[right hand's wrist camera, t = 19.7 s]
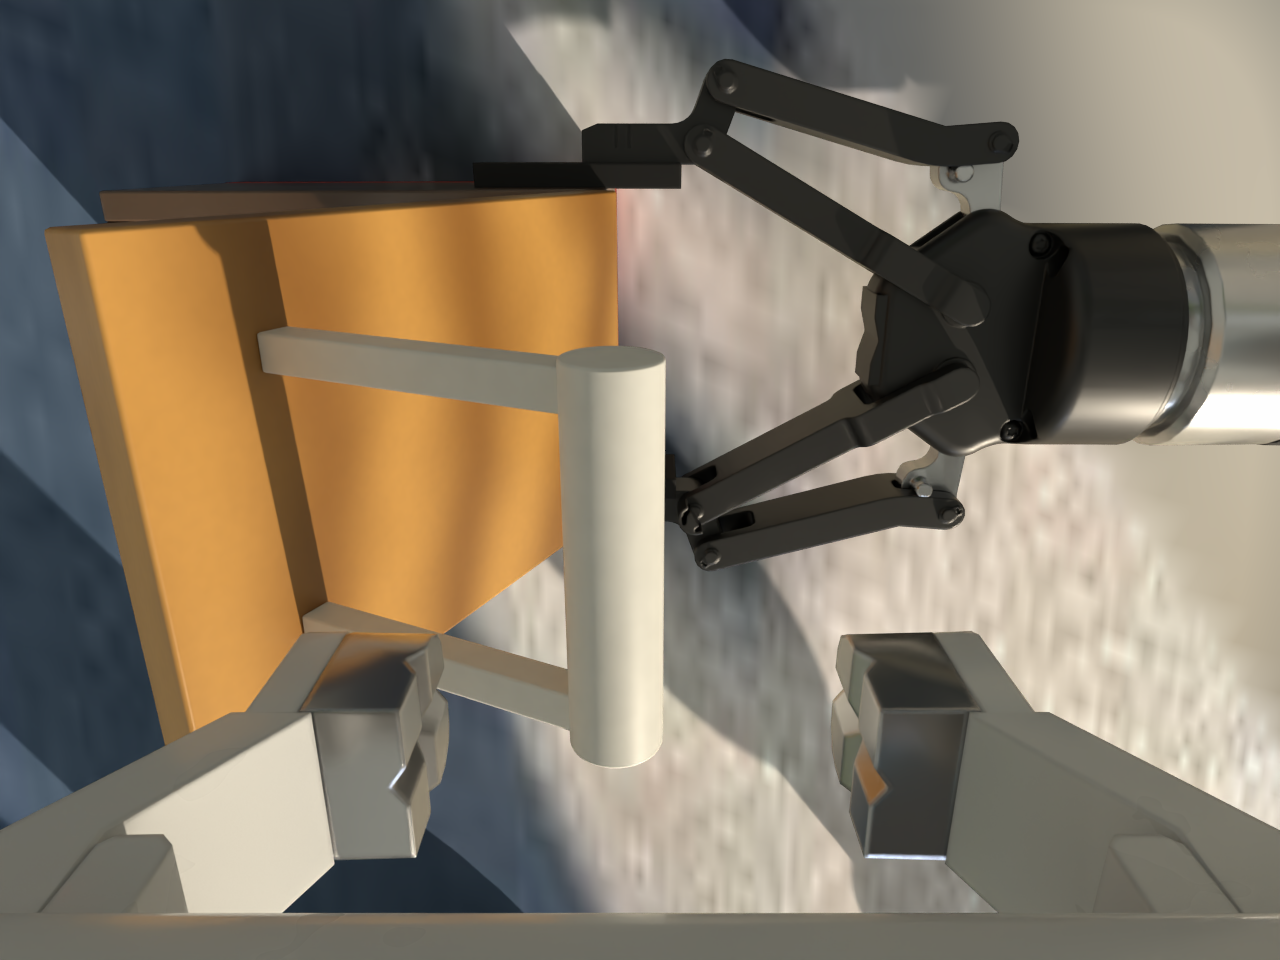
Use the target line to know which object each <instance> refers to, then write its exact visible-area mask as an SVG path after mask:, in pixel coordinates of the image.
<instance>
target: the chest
mask: <svg viewBox="0 0 1280 960" xmlns="http://www.w3.org/2000/svg"><path fill="white" fill-rule="evenodd" d="M584 190H613V191H615V192H616V189H615V188H474V181H408V182H229V183H219V184H203V185H187V186H171V187H155V188H139V189H123V190H107V191H101V192H100V193H99V195H100V200H101V204H102V209H103V214H104V219H105V221H108V222H107V223H118V222H132V221H147V220H161V219H176V218H191V217H205V216H220V215H234V214H249V213H264V212H278V211H293V210H307V209H322V208H337V207H351V206H366V205H380V204H395V203H409V202H424V201H439V200H453V199H468V198H482V197H497V196H512V195H526V194H541V193H555V192H570V191H584ZM616 217H617V193H616ZM617 300H618V277H617Z"/></svg>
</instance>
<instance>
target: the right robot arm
mask: <svg viewBox="0 0 1280 960" xmlns="http://www.w3.org/2000/svg"><path fill="white" fill-rule="evenodd" d="M443 670H444V660H443V652H442V644H441V641H440V639H439V637H438V635H437V634H423V633H371V632H352V633H349V632H348V631H340V632H308V633H304V634H301V635H300V636H299V638H298V639H297V640H296V642H295V643H294V645H293V646H292V647H291V649H290V650H289V651H288V653H287V654H286V656H285V657H284V658H283V660H282V661H281V663H280V664H279V665H278V667H277V668H276V670H275V671H274V672H273V674H272V675H271V677H270V678H269V679H268V681H267V682H266V683H265V685H264V686H263V688H262V689H261V690H260V692H259V693H258V695H257V696H256V697H255V699H254V700H253V702H252V703H251V704H250V706H249V707H248V708H247V710H246V711H245V712H230V713H229V714H227V715H225V716H223V717H221V718H219V719H217V720H215V721H213V722H211V723H209V724H207V725H205V726H203V727H201V728H199V729H197V730H195V731H193V732H191V733H189V734H187V735H185V736H183V737H181V738H180V739H178V740H176V741H174V742H172V743H170V744H168V745H166V746H164V747H162V748H160V749H158V750H156V751H154V752H152V753H150V754H148V755H146V756H144V757H142V758H140V759H138V760H136V761H134V762H133V763H131V764H129V765H127V766H125V767H123V768H121V769H119V770H117V771H115V772H113V773H111V774H109V775H107V776H105V777H103V778H101V779H99V780H97V781H95V782H93V783H91V784H89V785H87V786H86V787H84V788H82V789H80V790H78V791H76V792H74V793H72V794H70V795H68V796H66V797H64V798H62V799H60V800H58V801H56V802H54V803H52V804H50V805H48V806H46V807H44V808H42V809H40V810H39V811H37V812H35V813H33V814H31V815H29V816H27V817H25V818H23V819H21V820H19V821H17V822H15V823H13V824H11V825H9V826H7V827H5V828H3V829H1V830H0V960H1280V830H1278V829H1276V828H1274V827H1272V826H1270V825H1268V824H1266V823H1264V822H1262V821H1260V820H1258V819H1256V818H1255V817H1253V816H1251V815H1249V814H1247V813H1245V812H1243V811H1241V810H1239V809H1237V808H1235V807H1233V806H1231V805H1229V804H1227V803H1225V802H1223V801H1221V800H1219V799H1217V798H1215V797H1214V796H1212V795H1210V794H1208V793H1206V792H1204V791H1202V790H1200V789H1198V788H1196V787H1194V786H1192V785H1190V784H1188V783H1186V782H1184V781H1182V780H1180V779H1178V778H1176V777H1174V776H1173V775H1171V774H1169V773H1167V772H1165V771H1163V770H1161V769H1159V768H1157V767H1155V766H1153V765H1151V764H1149V763H1147V762H1145V761H1143V760H1141V759H1139V758H1137V757H1135V756H1133V755H1132V754H1130V753H1128V752H1126V751H1124V750H1122V749H1120V748H1118V747H1116V746H1114V745H1112V744H1110V743H1108V742H1106V741H1104V740H1102V739H1100V738H1098V737H1096V736H1094V735H1092V734H1091V733H1089V732H1087V731H1085V730H1083V729H1081V728H1079V727H1077V726H1075V725H1073V724H1071V723H1069V722H1067V721H1065V720H1063V719H1061V718H1059V717H1057V716H1055V715H1053V714H1051V713H1050V712H1035V711H1034V710H1033V709H1032V707H1031V706H1030V704H1029V703H1028V702H1027V700H1026V699H1025V698H1024V696H1023V695H1022V693H1021V692H1020V691H1019V689H1018V688H1017V687H1016V685H1015V684H1014V682H1013V681H1012V680H1011V678H1010V677H1009V676H1008V674H1007V673H1006V671H1005V670H1004V669H1003V667H1002V666H1001V664H1000V663H999V662H998V660H997V659H996V658H995V656H994V655H993V653H992V652H991V651H990V649H989V648H988V647H987V645H986V644H985V642H984V641H983V640H982V638H981V637H980V636H979V635H978V634H976V633H974V632H972V631H961V632H937V633H932V632H928V633H887V634H847V635H842V636H841V637H840V641H839V645H838V649H837V659H836V670H837V673H838V676H839V678H840V681H841V684H842V686H843V690H842V691H841V692H840V693H839V694H838V695H837V696H836V698H835V699H834V700H833V701H832V717H831V739H832V753H833V758H834V763H835V768H836V772H837V775H838V778H839V782H840V784H841V785H843V786H844V787H845V788H847V789H848V790H849V791H851V798H850V809H849V813H850V816H851V819H852V822H853V825H854V828H855V831H856V834H857V837H858V840H859V843H860V846H861V849H862V852H863V855H864V858H892V859H928V860H946V861H945V864H946V865H947V866H948V867H949V868H950V869H951V870H953V871H954V872H955V873H956V874H957V875H958V876H959V877H960V878H961V879H962V880H963V881H964V882H966V883H967V884H968V885H969V886H970V887H971V888H972V889H973V890H974V891H975V892H976V893H977V894H979V895H980V896H981V897H982V898H983V899H984V900H985V901H986V902H987V903H988V904H989V905H990V906H992V907H993V908H994V909H995V910H996V911H997V912H998V913H282V912H283V911H285V910H286V909H287V908H288V907H289V906H290V905H291V904H292V903H293V902H294V901H295V900H296V899H298V898H299V897H300V896H301V895H302V894H303V893H304V892H305V891H306V890H307V889H308V888H309V887H311V886H312V885H313V884H314V883H315V882H316V881H317V880H318V879H319V878H320V877H321V876H322V875H324V874H325V873H326V872H327V871H328V870H329V869H330V868H331V867H332V866H333V865H334V860H351V859H386V858H416V856H417V853H418V850H419V847H420V844H421V841H422V837H423V834H424V831H425V828H426V825H427V822H428V819H429V816H430V813H431V809H430V798H429V791H431V790H432V789H433V788H435V787H436V786H437V785H439V784H440V782H441V778H442V775H443V771H444V768H445V764H446V757H447V750H448V742H449V714H448V701H447V700H446V699H445V698H444V696H443V695H442V694H441V693H440V692H439V691H438V690H437V686H438V684H439V681H440V678H441V675H442V673H443Z"/></svg>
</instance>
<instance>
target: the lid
mask: <svg viewBox="0 0 1280 960" xmlns="http://www.w3.org/2000/svg"><path fill="white" fill-rule="evenodd" d="M44 234H45V238H46V243H47V247H48V251H49V255H50V260H51V264H52V268H53V272H54V277H55V281H56V285H57V289H58V294H59V298H60V302H61V306H62V310H63V315H64V319H65V323H66V327H67V332H68V336H69V340H70V344H71V349H72V353H73V357H74V361H75V366H76V370H77V374H78V378H79V383H80V387H81V391H82V395H83V399H84V404H85V408H86V412H87V416H88V421H89V425H90V429H91V433H92V438H93V442H94V446H95V450H96V455H97V459H98V463H99V467H100V472H101V476H102V480H103V484H104V488H105V493H106V497H107V501H108V505H109V510H110V514H111V518H112V522H113V527H114V531H115V535H116V539H117V544H118V548H119V552H120V556H121V561H122V565H123V569H124V573H125V577H126V582H127V586H128V590H129V594H130V599H131V603H132V607H133V611H134V616H135V620H136V624H137V628H138V633H139V637H140V641H141V645H142V650H143V654H144V658H145V662H146V666H147V671H148V675H149V679H150V683H151V688H152V692H153V696H154V700H155V705H156V709H157V713H158V717H159V722H160V726H161V730H162V734H163V739H164V743H165V746H166V745H168V744H170V743H172V742H174V741H176V740H178V739H180V738H181V737H183V736H185V735H187V734H189V733H191V732H193V731H195V730H197V729H199V728H201V727H203V726H205V725H207V724H209V723H211V722H213V721H215V720H217V719H219V718H221V717H223V716H225V715H227V714H229V713H230V712H245V711H246V710H247V708H248V707H249V706H250V704H251V703H252V702H253V700H254V699H255V697H256V696H257V695H258V693H259V692H260V690H261V689H262V688H263V686H264V685H265V683H266V682H267V681H268V679H269V678H270V677H271V675H272V674H273V672H274V671H275V670H276V668H277V667H278V665H279V664H280V663H281V661H282V660H283V658H284V657H285V656H286V654H287V653H288V651H289V650H290V649H291V647H292V646H293V645H294V643H295V642H296V640H297V639H298V638H299V636H300V635H301V634H304V633H308V632H340V631H348V632H349V633H352V632H371V633H423V634H437V635H438V637H439V639H440V641H441V644H442V652H443V660H444V670H443V673H442V675H441V678H440V681H439V684H438V686H437V689H441V690H444V691H447V692H450V693H453V694H456V695H459V696H463V697H466V698H469V699H472V700H475V701H478V702H481V703H485V704H488V705H491V706H494V707H497V708H500V709H503V710H507V711H510V712H513V713H516V714H519V715H522V716H525V717H529V718H532V719H535V720H538V721H541V722H544V723H547V724H551V725H554V726H557V727H560V728H563V729H566V730H569V731H570V742H571V745H572V747H573V749H574V751H575V752H576V754H577V755H578V756H579V757H580V758H582V759H583V760H584V761H586V762H588V763H590V764H593V765H596V766H599V767H605V768H626V767H631V766H635V765H638V764H640V763H643V762H645V761H647V760H648V759H650V758H651V757H652V756H653V755H655V753H656V752H657V751H658V749H659V748H660V746H661V743H662V739H663V627H664V493H665V357H664V356H663V355H662V354H661V353H659V352H656V351H653V350H650V349H646V348H640V347H630V346H618V300H617V217H616V192H615V191H613V190H584V191H570V192H555V193H541V194H526V195H512V196H497V197H482V198H468V199H453V200H439V201H424V202H409V203H395V204H380V205H366V206H351V207H337V208H322V209H307V210H293V211H278V212H264V213H249V214H234V215H220V216H205V217H191V218H176V219H161V220H147V221H132V222H118V223H103V224H89V225H74V226H59V227H49V228H48V229H46V230H45V233H44ZM562 547H563V560H564V586H565V613H566V639H567V666H568V669H564V668H561V667H557V666H554V665H550V664H547V663H543V662H540V661H536V660H533V659H529V658H526V657H522V656H519V655H515V654H512V653H508V652H505V651H501V650H497V649H494V648H490V647H487V646H483V645H480V644H476V643H473V642H469V641H466V640H462V639H459V638H455V637H452V636H448V635H445V634H444V633H445V632H447V631H448V630H449V629H451V628H452V627H454V626H455V625H456V624H458V623H459V622H460V621H462V620H463V619H465V618H466V617H467V616H469V615H470V614H471V613H473V612H474V611H475V610H477V609H478V608H480V607H481V606H482V605H484V604H485V603H486V602H488V601H489V600H490V599H492V598H493V597H495V596H496V595H497V594H499V593H500V592H501V591H503V590H504V589H506V588H507V587H508V586H510V585H511V584H512V583H514V582H515V581H516V580H518V579H519V578H521V577H522V576H523V575H525V574H526V573H527V572H529V571H530V570H532V569H533V568H534V567H536V566H537V565H538V564H540V563H541V562H542V561H544V560H545V559H547V558H548V557H549V556H551V555H552V554H553V553H555V552H556V551H558V550H559V549H560V548H562Z"/></svg>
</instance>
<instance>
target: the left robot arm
mask: <svg viewBox="0 0 1280 960" xmlns="http://www.w3.org/2000/svg"><path fill="white" fill-rule="evenodd" d="M735 112H737V113H740V114H743V115H747V116H750V117H753V118H757V119H760V120H763V121H766V122H770V123H773V124H776V125H779V126H783V127H786V128H789V129H792V130H796V131H799V132H802V133H805V134H809V135H812V136H815V137H818V138H822V139H825V140H828V141H831V142H835V143H838V144H841V145H844V146H848V147H851V148H854V149H857V150H861V151H864V152H867V153H870V154H874V155H877V156H880V157H883V158H887V159H890V160H893V161H897V162H901V163H905V164H910V165H919V166H930V179H931V181H932V184H933V185H934V186H935V187H936V188H938V189H939V190H943V191H948V192H951V193H953V194H954V195H955V196H956V197H957V198H958V199H959V202H960V206H961V211H960V212H958V213H956V214H955V215H953V216H952V217H950V218H949V219H948V220H946V221H945V222H943V223H942V224H940V225H939V226H937V227H936V228H934V229H933V230H932V231H930V232H929V233H927V234H926V235H924V236H923V237H921V238H920V239H918V240H917V241H916V242H914V243H913V244H911V245H910V246H908V245H907V244H905V243H903V242H902V241H900V240H899V239H897V238H895V237H894V236H892V235H890V234H888V233H887V232H885V231H883V230H881V229H879V228H877V227H876V226H874V225H872V224H871V223H869V222H868V221H866V220H864V219H863V218H861V217H859V216H858V215H856V214H855V213H853V212H851V211H850V210H848V209H847V208H845V207H843V206H842V205H840V204H838V203H837V202H835V201H834V200H832V199H830V198H829V197H827V196H825V195H824V194H822V193H821V192H819V191H817V190H816V189H814V188H813V187H811V186H809V185H808V184H806V183H804V182H803V181H801V180H800V179H798V178H796V177H795V176H793V175H791V174H790V173H788V172H787V171H785V170H783V169H782V168H780V167H779V166H777V165H775V164H774V163H772V162H770V161H769V160H767V159H766V158H764V157H762V156H761V155H759V154H757V153H756V152H754V151H753V150H751V149H749V148H748V147H746V146H745V145H743V144H741V143H740V142H738V141H736V140H735V139H733V138H732V137H730V136H728V135H727V132H728V129H729V126H730V124H731V121H732V118H733V116H734V113H735ZM1018 144H1019V136H1018V132H1017V130H1016V129H1015V127H1014V126H1013V125H1011V124H1010V123H1007V122H991V123H978V124H966V125H953V126H944V125H940V124H937V123H934V122H931V121H928V120H924V119H921V118H918V117H915V116H912V115H908V114H905V113H902V112H899V111H896V110H892V109H889V108H886V107H883V106H880V105H876V104H873V103H870V102H867V101H864V100H860V99H857V98H854V97H851V96H848V95H844V94H841V93H838V92H835V91H832V90H828V89H825V88H822V87H819V86H816V85H812V84H809V83H806V82H803V81H800V80H796V79H793V78H790V77H787V76H784V75H780V74H777V73H774V72H771V71H768V70H764V69H761V68H758V67H755V66H752V65H748V64H745V63H742V62H739V61H736V60H732V59H723V60H720V61H718V62H716V63H715V64H714V65H713V66H712V67H711V68H710V70H709V71H708V73H707V74H706V77H705V79H704V81H703V84H702V87H701V90H700V93H699V95H698V98H697V101H696V104H695V107H694V109H693V111H692V113H691V114H690V116H689V117H688V118H686V119H685V120H684V121H681V122H679V123H673V124H595V125H593V126H591V127H589V128H586V129H584V130H582V162H480V163H473V173H474V188H615V189H681V165H696V166H698V167H699V168H701V169H703V170H704V171H706V172H708V173H709V174H711V175H713V176H714V177H716V178H718V179H719V180H721V181H723V182H724V183H726V184H728V185H729V186H731V187H732V188H734V189H736V190H737V191H739V192H741V193H742V194H744V195H746V196H747V197H749V198H751V199H752V200H754V201H756V202H757V203H759V204H760V205H762V206H764V207H765V208H767V209H769V210H770V211H772V212H774V213H775V214H777V215H779V216H780V217H782V218H784V219H785V220H787V221H788V222H790V223H792V224H793V225H795V226H797V227H798V228H800V229H802V230H803V231H805V232H807V233H808V234H810V235H812V236H813V237H815V238H816V239H818V240H820V241H821V242H823V243H825V244H826V245H828V246H830V247H831V248H833V249H835V250H836V251H838V252H840V253H841V254H843V255H844V256H846V257H847V258H849V259H851V260H852V261H854V262H856V263H857V264H859V265H861V266H862V267H864V268H865V269H867V270H869V271H870V272H872V273H874V274H873V276H872V277H871V279H870V281H869V283H868V286H863V291H862V302H861V311H862V317H863V322H864V328H865V330H864V334H863V337H862V339H861V342H860V345H859V348H858V350H857V357H856V368H855V373H856V374H857V375H858V376H859V378H860V380H858V381H856V382H854V383H852V384H850V385H848V386H846V387H844V388H842V389H840V390H839V391H837V392H836V393H835V394H834V395H833V396H832V397H831V399H829V400H828V401H826V402H824V403H823V404H821V405H819V406H817V407H815V408H813V409H811V410H809V411H807V412H805V413H803V414H801V415H799V416H797V417H795V418H793V419H792V420H790V421H788V422H786V423H784V424H782V425H780V426H778V427H776V428H774V429H772V430H770V431H768V432H766V433H764V434H763V435H761V436H759V437H757V438H755V439H753V440H751V441H749V442H747V443H745V444H743V445H741V446H739V447H737V448H735V449H733V450H732V451H730V452H728V453H726V454H724V455H722V456H720V457H718V458H716V459H714V460H712V461H710V462H708V463H706V464H704V465H703V466H701V467H699V468H697V469H695V470H693V471H691V472H689V473H687V474H685V475H683V476H682V477H681V478H676V471H675V457H674V454H665V493H664V521H669V522H674V523H676V524H678V525H679V526H680V528H681V529H682V530H683V531H684V532H685V533H686V534H687V537H688V539H689V542H690V545H691V547H692V550H693V553H694V556H695V561H696V563H697V565H698V566H699V567H700V568H701V569H703V570H706V571H716V570H720V569H724V568H728V567H732V566H737V565H741V564H745V563H749V562H753V561H757V560H761V559H765V558H770V557H774V556H778V555H782V554H786V553H790V552H794V551H799V550H803V549H807V548H811V547H815V546H819V545H823V544H827V543H832V542H836V541H840V540H844V539H848V538H852V537H856V536H860V535H865V534H869V533H873V532H877V531H881V530H885V529H889V528H894V527H898V526H903V527H916V528H929V529H942V530H947V529H952V528H955V527H957V526H958V525H959V524H960V523H961V522H962V521H963V518H964V516H965V509H964V507H963V505H962V504H961V502H960V501H959V500H958V499H957V498H956V495H957V490H958V486H959V481H960V477H961V472H962V468H963V463H964V459H965V456H967V455H970V454H973V453H975V452H977V451H979V450H981V449H983V448H985V447H988V446H991V445H995V444H1001V443H1011V444H1103V445H1117V444H1122V443H1126V442H1128V441H1130V440H1133V441H1135V442H1136V443H1139V444H1145V445H1225V444H1260V445H1280V224H1165V225H1161V226H1159V227H1156V228H1154V229H1152V228H1150V227H1148V226H1146V225H1142V224H1135V223H1134V224H1133V223H1023V222H1020V221H1018V220H1016V219H1014V218H1012V217H1011V216H1009V215H1008V214H1006V213H1004V212H1002V211H1000V207H1001V193H1002V178H1003V163H1004V161H1007V160H1008V159H1009V158H1011V157H1012V156H1013V154H1014V153H1015V151H1016V150H1017V147H1018ZM907 428H908V429H909V430H910V431H912V432H913V433H914V434H916V435H917V436H918V437H920V438H921V439H922V440H924V441H925V442H926V443H928V444H929V445H930V449H929V451H928V452H927V454H926V455H925V456H923V457H922V458H920V459H918V460H913V461H908V462H905V463H902V464H901V465H900V467H899V469H898V470H897V473H884V474H874V475H869V476H864V477H860V478H856V479H852V480H848V481H844V482H840V483H836V484H832V485H828V486H824V487H820V488H816V489H812V490H808V491H804V492H800V493H796V494H792V495H788V496H784V497H780V498H776V499H772V500H768V501H764V502H760V503H756V504H752V505H748V506H744V507H740V508H737V507H739V506H741V505H743V504H745V503H747V502H749V501H751V500H753V499H755V498H757V497H759V496H761V495H763V494H765V493H767V492H769V491H771V490H773V489H775V488H777V487H779V486H781V485H783V484H785V483H787V482H789V481H791V480H793V479H795V478H797V477H799V476H801V475H803V474H805V473H807V472H809V471H811V470H813V469H815V468H817V467H819V466H821V465H823V464H825V463H827V462H829V461H831V460H833V459H835V458H837V457H839V456H841V455H842V454H844V453H846V452H848V451H850V450H852V449H855V448H857V447H868V446H872V445H874V444H877V443H879V442H881V441H883V440H885V439H887V438H889V437H891V436H893V435H895V434H897V433H899V432H901V431H903V430H905V429H907ZM735 508H736V509H735Z"/></svg>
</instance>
